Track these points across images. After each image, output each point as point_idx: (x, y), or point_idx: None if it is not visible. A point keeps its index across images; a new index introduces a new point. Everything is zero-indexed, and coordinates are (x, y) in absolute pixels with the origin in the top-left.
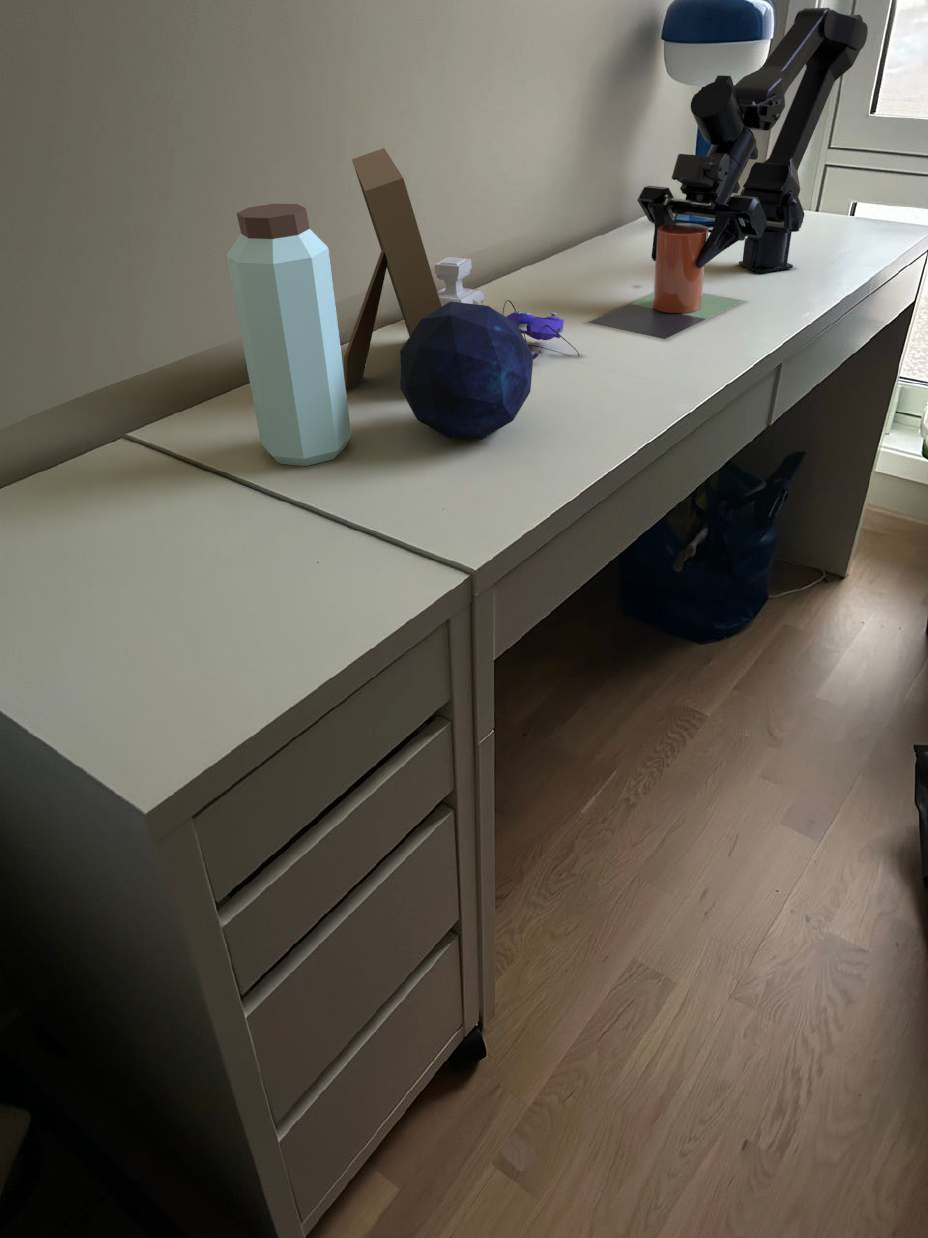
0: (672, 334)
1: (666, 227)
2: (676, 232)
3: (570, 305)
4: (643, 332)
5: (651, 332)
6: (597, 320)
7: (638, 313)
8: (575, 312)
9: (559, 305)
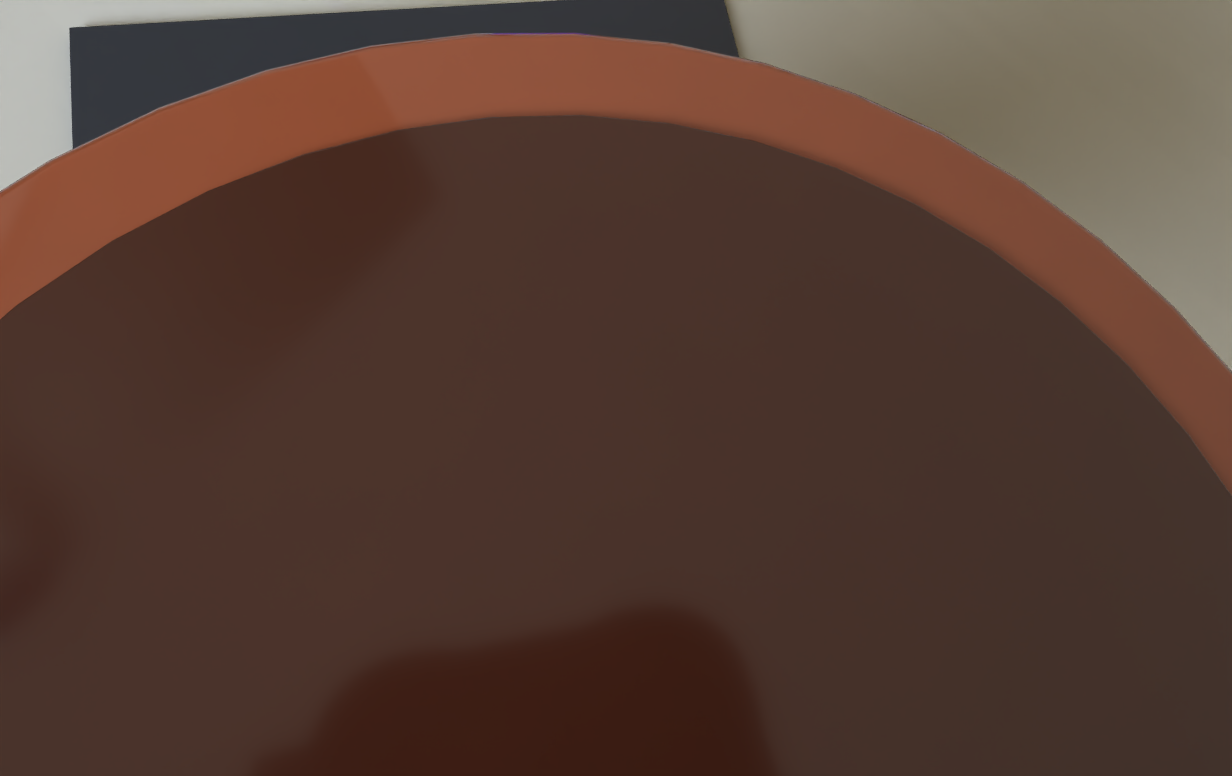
0: (81, 122)
1: (1118, 556)
2: (375, 234)
3: (1091, 186)
4: (285, 36)
5: (241, 69)
6: (706, 44)
7: None
8: (950, 104)
9: (1131, 144)
